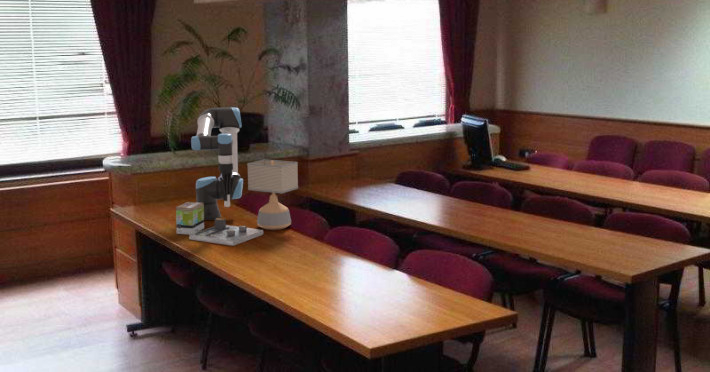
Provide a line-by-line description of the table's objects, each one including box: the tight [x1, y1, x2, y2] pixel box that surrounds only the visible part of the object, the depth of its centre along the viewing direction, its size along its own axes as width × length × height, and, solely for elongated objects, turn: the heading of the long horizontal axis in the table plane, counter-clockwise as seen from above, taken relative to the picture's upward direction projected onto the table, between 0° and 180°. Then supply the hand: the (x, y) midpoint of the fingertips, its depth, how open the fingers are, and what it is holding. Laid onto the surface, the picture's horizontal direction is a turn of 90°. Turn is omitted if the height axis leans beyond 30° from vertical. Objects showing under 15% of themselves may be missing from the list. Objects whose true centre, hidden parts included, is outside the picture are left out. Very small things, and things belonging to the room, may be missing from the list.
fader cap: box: [214, 217, 227, 229], centre depth 420 cm, size 3×5×5 cm, turn 61°
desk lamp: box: [246, 158, 299, 231], centre depth 429 cm, size 22×19×37 cm
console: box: [188, 224, 264, 247], centre depth 412 cm, size 26×29×5 cm
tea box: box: [175, 201, 205, 235], centre depth 424 cm, size 15×10×15 cm
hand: (227, 206), depth 423 cm, fingers closed
